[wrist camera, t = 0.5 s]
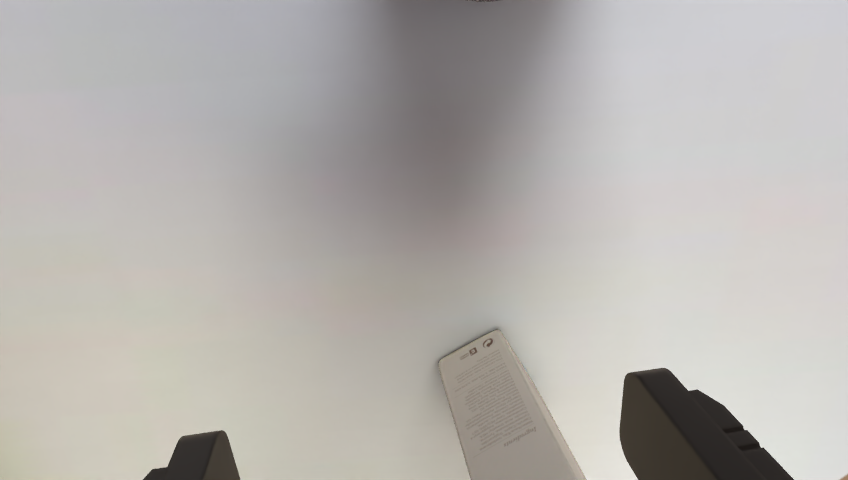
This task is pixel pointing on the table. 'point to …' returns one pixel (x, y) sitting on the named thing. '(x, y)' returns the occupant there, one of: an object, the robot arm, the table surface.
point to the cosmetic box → (503, 416)
